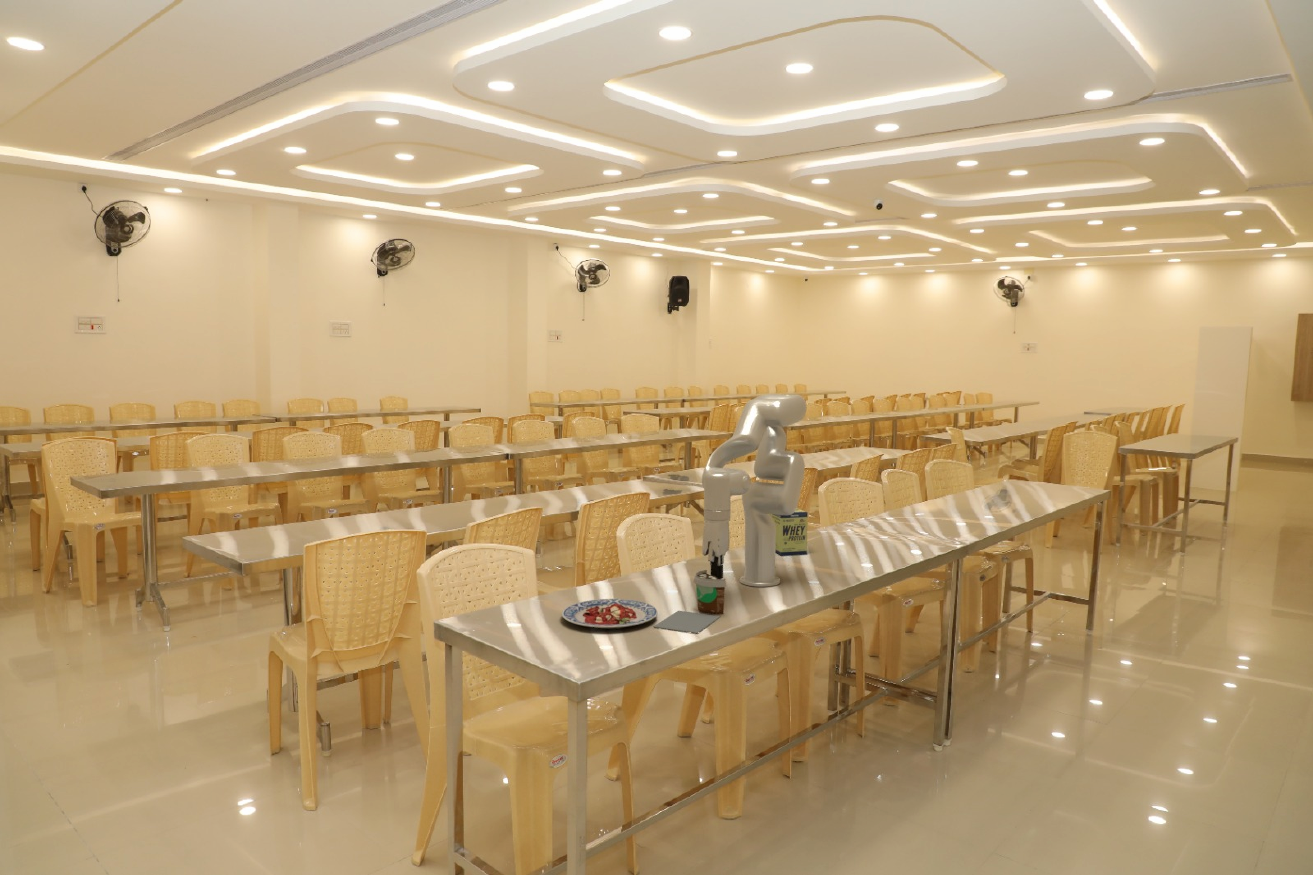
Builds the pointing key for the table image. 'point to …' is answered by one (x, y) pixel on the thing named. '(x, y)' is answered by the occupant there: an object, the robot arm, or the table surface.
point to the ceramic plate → (609, 613)
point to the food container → (709, 593)
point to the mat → (687, 622)
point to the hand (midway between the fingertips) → (716, 578)
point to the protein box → (791, 533)
